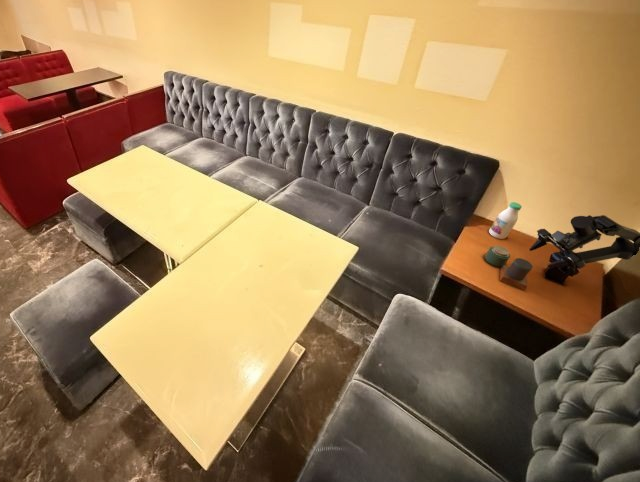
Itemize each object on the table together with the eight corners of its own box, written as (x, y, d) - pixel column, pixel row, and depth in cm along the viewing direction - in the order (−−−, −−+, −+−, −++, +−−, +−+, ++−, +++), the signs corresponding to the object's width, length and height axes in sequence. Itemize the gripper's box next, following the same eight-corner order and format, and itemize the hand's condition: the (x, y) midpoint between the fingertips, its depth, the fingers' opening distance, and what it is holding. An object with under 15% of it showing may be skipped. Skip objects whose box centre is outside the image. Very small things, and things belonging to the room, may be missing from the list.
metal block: (523, 277, 142) (526, 273, 140) (523, 290, 136) (527, 285, 135) (500, 268, 146) (503, 264, 144) (499, 280, 140) (503, 276, 139)
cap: (523, 273, 140) (532, 262, 136) (523, 282, 136) (533, 271, 132) (506, 267, 143) (514, 255, 139) (506, 276, 139) (514, 264, 135)
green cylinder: (504, 259, 151) (512, 248, 146) (504, 270, 145) (512, 259, 141) (484, 252, 155) (491, 241, 150) (483, 262, 149) (490, 251, 145)
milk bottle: (502, 230, 168) (521, 201, 156) (508, 240, 161) (529, 210, 150) (486, 228, 169) (504, 198, 158) (491, 237, 163) (510, 207, 152)
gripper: (553, 213, 132) (515, 233, 138) (597, 245, 117) (552, 266, 123) (560, 226, 137) (523, 245, 143) (603, 259, 122) (559, 278, 127)
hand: (538, 258), depth 134 cm, fingers open, 9 cm apart
